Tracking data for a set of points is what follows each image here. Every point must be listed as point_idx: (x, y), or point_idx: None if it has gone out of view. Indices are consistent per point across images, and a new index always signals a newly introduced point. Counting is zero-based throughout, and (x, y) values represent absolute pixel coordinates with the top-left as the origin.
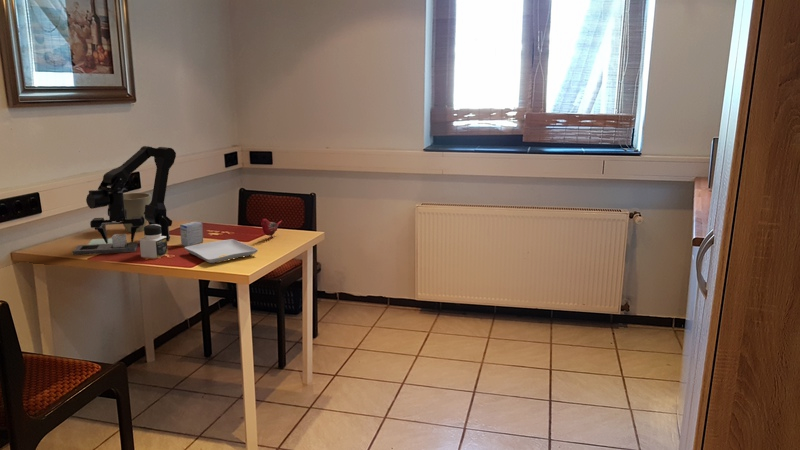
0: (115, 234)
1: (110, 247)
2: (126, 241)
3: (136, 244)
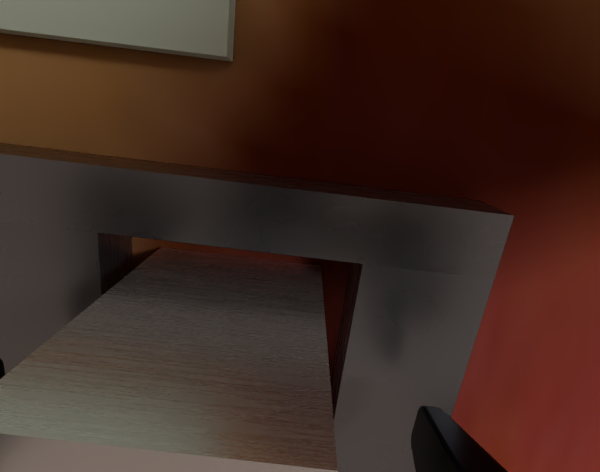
0: (6, 466)
1: None
2: (323, 334)
3: (469, 343)
